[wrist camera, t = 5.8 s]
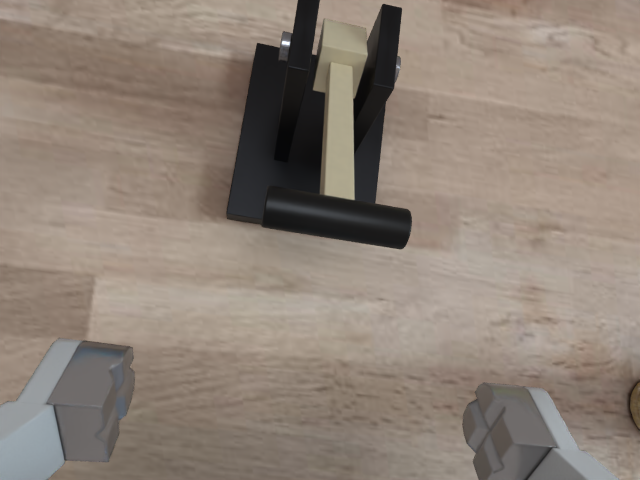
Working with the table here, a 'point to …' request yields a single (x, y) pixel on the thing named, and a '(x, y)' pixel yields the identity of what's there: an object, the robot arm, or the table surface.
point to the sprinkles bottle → (636, 404)
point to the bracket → (308, 115)
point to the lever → (337, 157)
